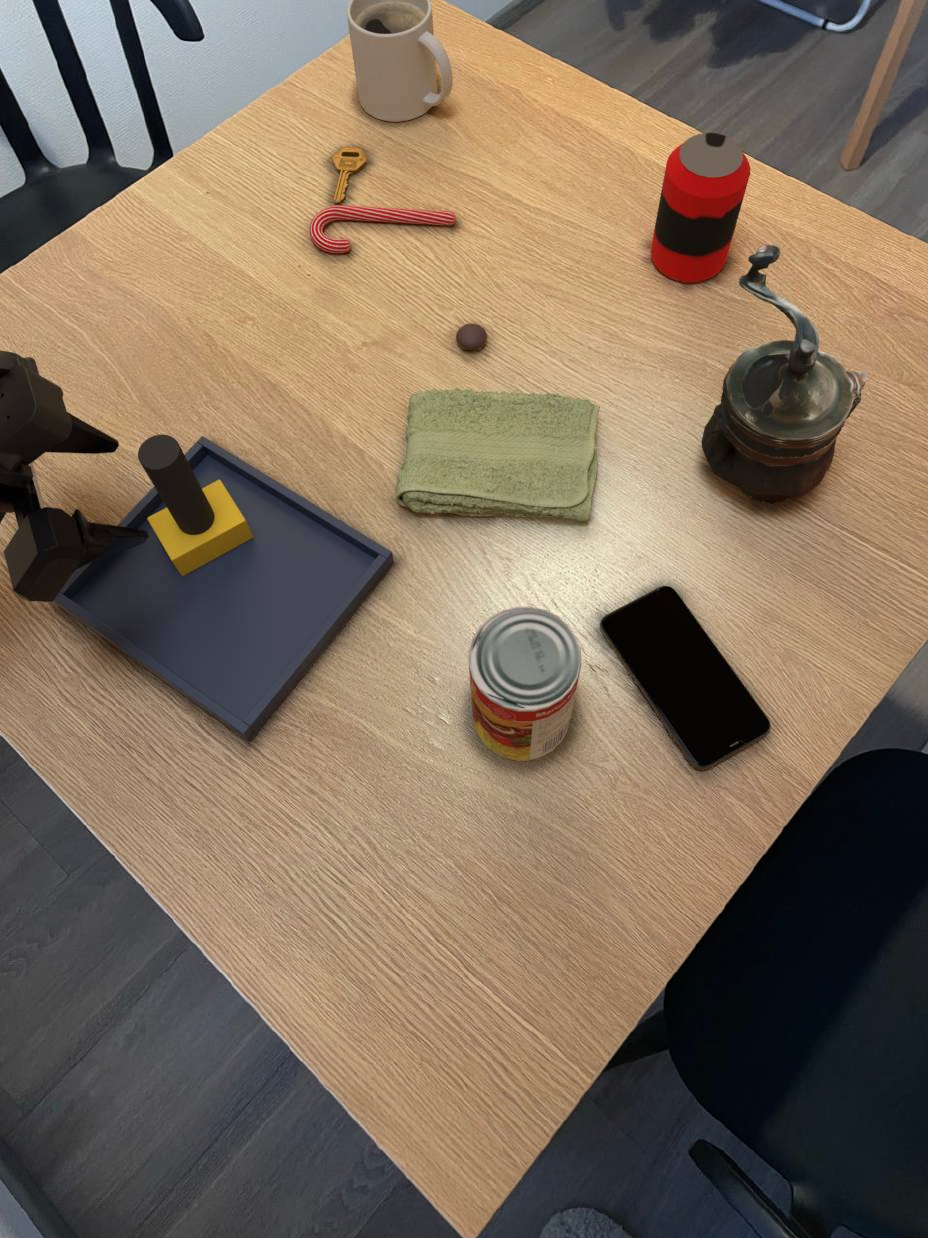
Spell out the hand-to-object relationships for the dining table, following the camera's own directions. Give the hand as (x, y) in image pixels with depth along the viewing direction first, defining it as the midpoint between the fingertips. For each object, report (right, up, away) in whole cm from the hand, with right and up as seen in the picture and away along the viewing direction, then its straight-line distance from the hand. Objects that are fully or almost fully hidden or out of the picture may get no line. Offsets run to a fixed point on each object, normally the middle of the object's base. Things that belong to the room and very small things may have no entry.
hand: (131, 491), depth 76 cm
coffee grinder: (+52, +5, +12) cm, 53 cm away
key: (+14, +37, +28) cm, 49 cm away
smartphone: (+44, -15, +3) cm, 46 cm away
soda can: (+49, +26, +22) cm, 60 cm away
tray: (+6, -7, +8) cm, 12 cm away
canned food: (+31, -18, +2) cm, 36 cm away
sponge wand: (+3, -3, +9) cm, 10 cm away
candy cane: (+18, +30, +25) cm, 43 cm away
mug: (+19, +48, +33) cm, 61 cm away
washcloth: (+29, +4, +12) cm, 32 cm away
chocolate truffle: (+27, +17, +18) cm, 37 cm away
